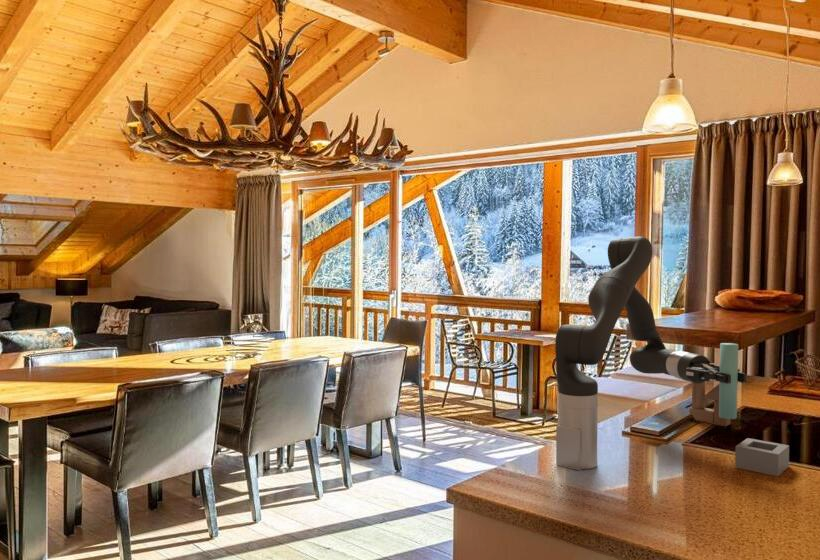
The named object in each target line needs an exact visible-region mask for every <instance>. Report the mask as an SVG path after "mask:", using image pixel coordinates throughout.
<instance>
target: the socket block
mask: <svg viewBox="0 0 820 560" xmlns="http://www.w3.org/2000/svg"><path fill="white" fill-rule="evenodd" d="M734 453H735V458H734V459H735V462H734V463H735V466H734V467H735V468H737V469H742V470H745V471H751V472H756V473H760V474H766V475H770V476H775V477H779V476H780V475H781V474H782V473H784V472H785V471H786V470H787V468H789V466H790V445H788V444H783V443H778V442H772V441H768V440H760V439H756V438H749V437H747V438H745V439H744V440H742V441H741V442H739V443H738V444H736V445H735V451H734Z"/></svg>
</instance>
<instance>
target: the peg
mask: <svg viewBox="0 0 820 560" xmlns="http://www.w3.org/2000/svg"><path fill="white" fill-rule="evenodd" d="M719 365H720V372H722V373H726V374H730V375H731V383H729V384H727V383H723V382H719V381H718V384H719V417H721V418H725V419H731V420H736V419H737V418H738V417H737V415H738V384H739V383H738V382H739V381H738V369H739V343H738V344H737V343H733V342H728V343H727V342H721V343H720V344H719Z"/></svg>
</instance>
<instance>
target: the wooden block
mask: <svg viewBox="0 0 820 560" xmlns="http://www.w3.org/2000/svg"><path fill="white" fill-rule="evenodd" d="M706 400H711V401H713V408H709V407H708V408H707V407H706ZM688 411H689V414H692V415H693V417H694V418H695V420H696V421H695V420H694V421H695V422H701V423H705V424H706V423H707V424H711V425H716V426H721V427H727V426H729V425H731V423H732V422H731V420H732V419H725V418H721V417H719V383H718V384H717V385H715V386H714V387H713V388H712V389H711V390H710V391H708V392H707V393H706V381H705V382H703V383H700V384H696V383H693V382H691V407H689V410H688ZM689 414H688V415H689Z"/></svg>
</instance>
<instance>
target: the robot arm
mask: <svg viewBox="0 0 820 560" xmlns="http://www.w3.org/2000/svg"><path fill="white" fill-rule="evenodd" d="M607 257H608V262H609V266H610V268H611V269H609V270H608V271H606V272H605V273H603V274H602V275H601V276H600V277H599V278H598V279H597V280H596V281H595V283H594V285H593V286H592V288H591V290H590V291H589V294H588V301H587V302H588V306H589V309H590V312H591V313H592V315H593V317H594V319H595V322H594V323H593V324H591V325H585V324H584V325H583V324H572V323H571V324H570V323H569V324H562V325H560V326H559V328H558V329H557V331H556V334H555V339H554V344H555V345H554V347H555V350H554V353H555V368H556V369H555V370H556V371H555V372H556V373H555V374H556V377H555V378H556V383H557V425H556V429H555V431H556V433H555V437H556V438H555V440H556V441H555V448H556V449H555V454H556V455H555V456H556V457H555V459H556V460H555V464H556V466H559V467H565V468H567V469H573V470H575V471H581V470H589V469H593V468H596V467H597V465H598V416H599V415H598V408H599V407H598V406H599V405H598V403H599V401H598V399H599V398H598V397H599V384H598V382H597V380H596V379H595V378H593V377H590V376H588V375H586V374H585V373H584V372H582V371H581V370H580V369H579V368H578V367H577V365H585V366H594V365H595V366H596V365H597V364H599V363H600V362H601V361H602V359H603V357H604V355H605V353H606V350H607V349H608V348H607V347H608V345H609V342H610V340H611V337H612V333H613V331H614V329H615V326H616V324H617V323H618V320H619V317H620V316H621V314H622V312H623V311H624V309H625V311H626V315H627V321H628V325H629V329H630V335H631V337H632V339H634V340H636V341H641V342H642V341H643V342H644V341H646V340H647V341H646V344H645V345H642V346H639V347H637V348H635V349H633V350H632V351H631V352H630V355H629V363H630V365H631V367H632V368H634V370H636V371H638V372H639V373H642V374H651V375H653V374H655V375H656V374H657V375H659V374H665V375H668V376H672V377H674V378H676V379H679V380H683V381H686V382H690V383H692V382H693V383H696V384H700V383H703V382H705V383H707V382H714V383H715V382H718V383H719V382H723V383H727V384H729V383H731V375H730V374H726V373H722V372H720V364H717V363H714V362H712V363H711V361H710V360H709V358H708V357H707V356H705V355H702V354H697V353H694V352H693V353H692V352H688V351H685V350H684V351H683V350H682V351H679V350H674V349H671V348H670V349H669V348H667V347H666V346H665V344H664V342H663V340H662V339H661V336H660V334H659V332H658V330H657V327H656V322H655V316H654V311H653V309H652V307H651V305H650V303H649V301H648V300H647V299H646V297H644V295H643V294H642V293H641V292H640V291H639V290H638V288H636V285H637V283H638V282H639V280H640V278H641V277H642V276H643V275H644V274H645V272H646V271H647V269H648V268H649V266H650V263H651V261H652V258H653V245H652V243H651V241H650V240H649V239H648V238H646V237H645V236H638V235H637V236H631V237H621V238H615V239H612V240H611V241H610V242H609V244H608V246H607ZM738 382H740V383H746V382H747V373H745V372H741V371H740V368H738Z"/></svg>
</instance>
